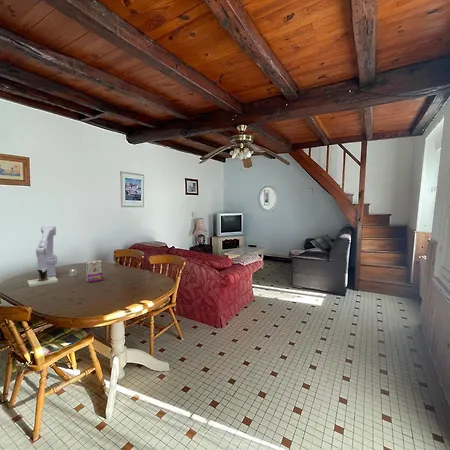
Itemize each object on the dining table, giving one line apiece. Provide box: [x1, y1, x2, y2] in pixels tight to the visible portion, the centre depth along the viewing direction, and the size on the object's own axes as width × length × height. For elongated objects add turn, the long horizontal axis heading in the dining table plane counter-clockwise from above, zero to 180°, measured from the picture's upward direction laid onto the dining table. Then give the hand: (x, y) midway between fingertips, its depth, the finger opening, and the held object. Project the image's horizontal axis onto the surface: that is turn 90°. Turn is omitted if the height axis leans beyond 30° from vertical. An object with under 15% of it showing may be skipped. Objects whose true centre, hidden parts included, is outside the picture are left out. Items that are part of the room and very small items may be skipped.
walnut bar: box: [38, 273, 48, 281], centre depth 194 cm, size 3×5×6 cm, turn 135°
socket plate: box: [27, 275, 59, 288], centre depth 194 cm, size 12×18×2 cm, turn 135°
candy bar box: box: [85, 259, 103, 283], centre depth 201 cm, size 11×5×16 cm, turn 129°
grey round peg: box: [68, 268, 78, 278], centre depth 212 cm, size 6×6×6 cm
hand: (42, 278), depth 194 cm, fingers closed on walnut bar, 3 cm apart
